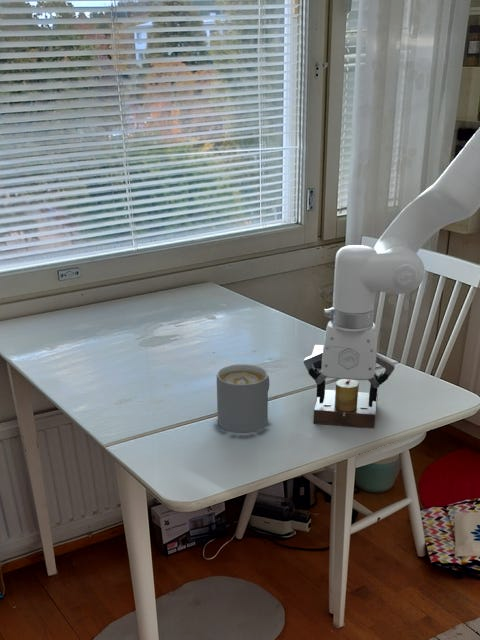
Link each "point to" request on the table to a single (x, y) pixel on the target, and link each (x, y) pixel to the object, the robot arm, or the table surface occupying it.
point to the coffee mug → (242, 398)
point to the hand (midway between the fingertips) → (346, 402)
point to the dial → (346, 394)
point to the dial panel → (345, 412)
